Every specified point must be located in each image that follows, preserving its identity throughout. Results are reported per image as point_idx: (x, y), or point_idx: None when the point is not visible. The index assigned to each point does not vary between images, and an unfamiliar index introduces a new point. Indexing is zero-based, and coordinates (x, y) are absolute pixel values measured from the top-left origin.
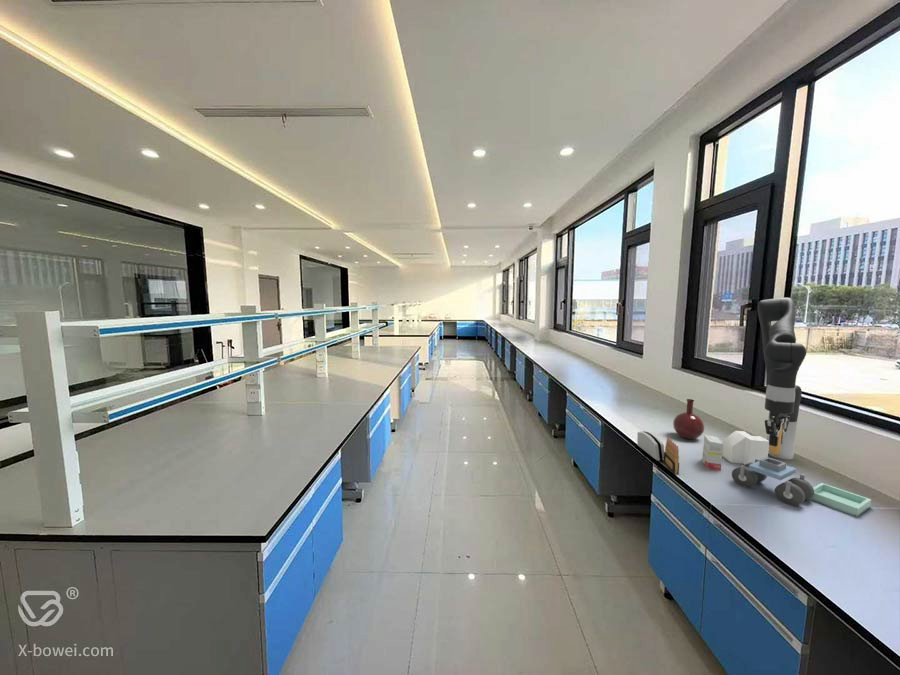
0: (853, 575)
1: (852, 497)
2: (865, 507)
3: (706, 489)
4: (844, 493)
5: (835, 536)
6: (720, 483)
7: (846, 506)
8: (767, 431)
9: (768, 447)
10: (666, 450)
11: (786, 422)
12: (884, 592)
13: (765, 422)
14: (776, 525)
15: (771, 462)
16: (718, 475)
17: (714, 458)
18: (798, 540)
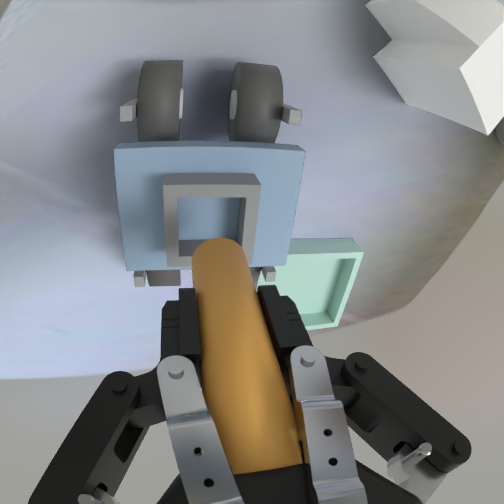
0: (19, 356)
1: (336, 298)
2: None
3: (10, 71)
4: (341, 289)
5: (100, 325)
6: (99, 52)
7: None
8: (93, 407)
9: (466, 125)
10: None
11: (383, 450)
12: (27, 374)
13: (34, 500)
14: (17, 262)
15: (241, 202)
16: (174, 9)
17: None
18: (14, 300)
